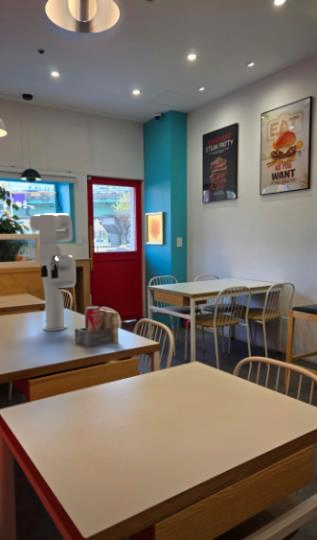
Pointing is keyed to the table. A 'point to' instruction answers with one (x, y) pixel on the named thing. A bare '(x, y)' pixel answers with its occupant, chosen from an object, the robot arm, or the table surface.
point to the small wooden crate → (101, 337)
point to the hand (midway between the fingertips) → (49, 277)
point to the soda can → (92, 319)
